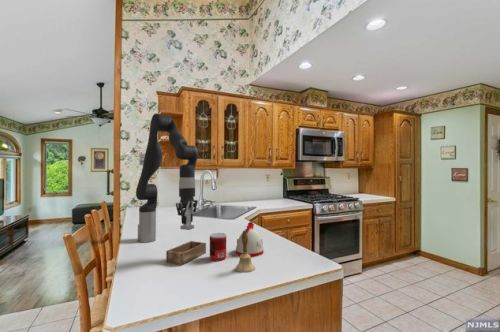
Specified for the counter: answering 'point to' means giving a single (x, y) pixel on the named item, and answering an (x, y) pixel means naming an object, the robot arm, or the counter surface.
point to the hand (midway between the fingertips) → (187, 222)
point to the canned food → (217, 246)
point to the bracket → (187, 222)
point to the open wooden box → (185, 252)
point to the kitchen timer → (250, 242)
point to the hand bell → (245, 257)
